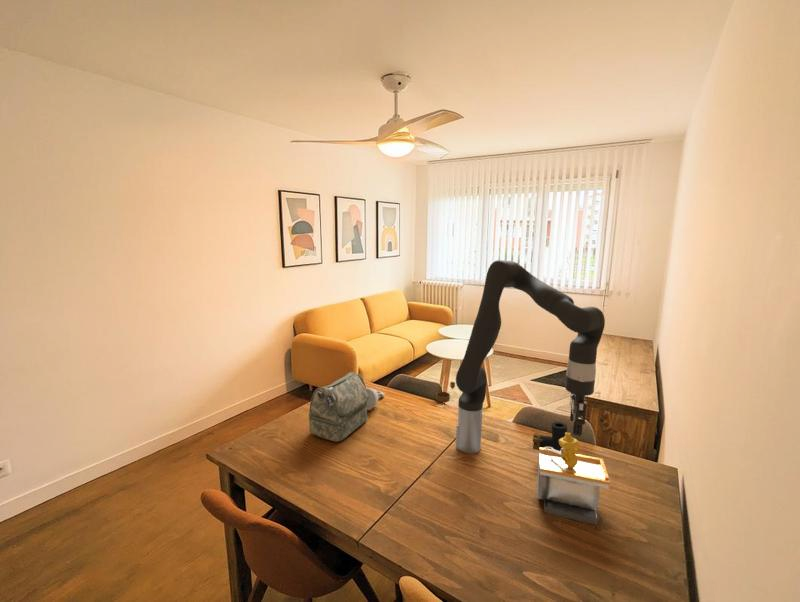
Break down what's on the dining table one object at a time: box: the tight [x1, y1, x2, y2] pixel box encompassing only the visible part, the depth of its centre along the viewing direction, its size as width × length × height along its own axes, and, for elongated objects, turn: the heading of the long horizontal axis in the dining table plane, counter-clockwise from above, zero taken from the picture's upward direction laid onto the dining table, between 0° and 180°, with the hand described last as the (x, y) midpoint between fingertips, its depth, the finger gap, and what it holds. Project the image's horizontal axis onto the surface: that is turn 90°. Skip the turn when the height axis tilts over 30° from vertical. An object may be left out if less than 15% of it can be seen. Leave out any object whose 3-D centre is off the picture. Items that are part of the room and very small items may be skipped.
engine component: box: [366, 387, 386, 411], centre depth 182 cm, size 11×20×10 cm, turn 171°
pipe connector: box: [532, 421, 568, 451], centre depth 133 cm, size 12×5×15 cm, turn 65°
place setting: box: [435, 381, 456, 403], centre depth 187 cm, size 18×20×6 cm
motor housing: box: [536, 447, 611, 526], centre depth 111 cm, size 18×12×14 cm, turn 70°
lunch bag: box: [308, 371, 369, 443], centre depth 157 cm, size 26×18×22 cm
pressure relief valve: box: [544, 431, 580, 468], centre depth 113 cm, size 6×12×10 cm, turn 27°
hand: (575, 427), depth 108 cm, fingers open, 8 cm apart
